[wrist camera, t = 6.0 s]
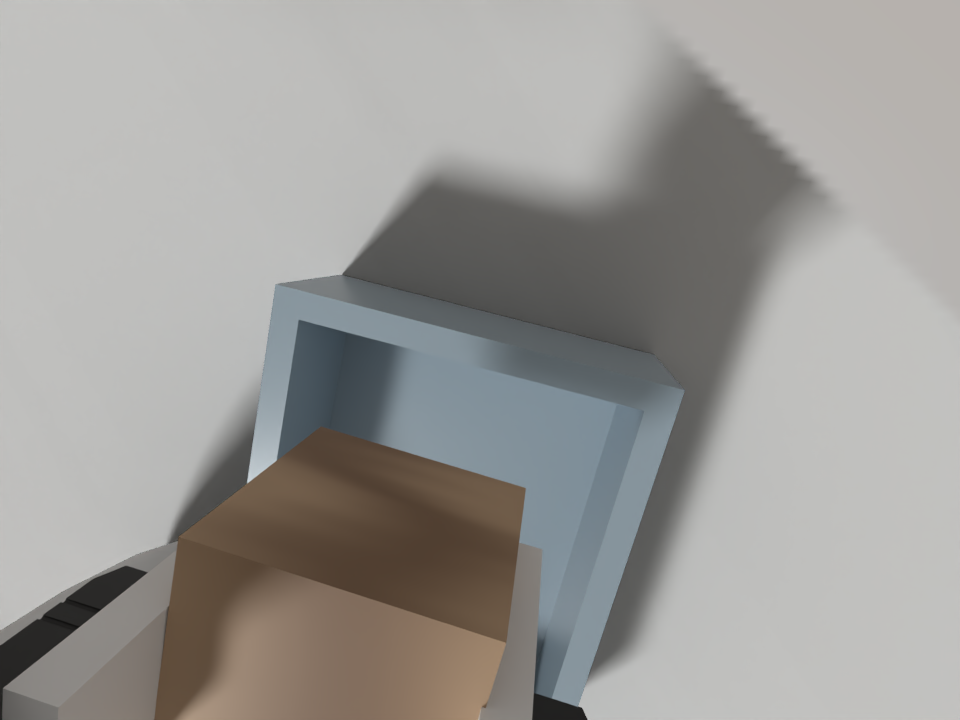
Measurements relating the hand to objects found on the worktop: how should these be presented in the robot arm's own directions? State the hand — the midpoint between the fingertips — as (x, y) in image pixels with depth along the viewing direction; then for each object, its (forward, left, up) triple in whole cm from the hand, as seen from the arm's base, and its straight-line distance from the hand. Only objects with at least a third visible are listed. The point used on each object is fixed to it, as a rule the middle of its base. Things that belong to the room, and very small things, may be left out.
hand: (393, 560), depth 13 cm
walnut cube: (0, 0, 0) cm, 0 cm away
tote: (0, -5, -12) cm, 13 cm away
